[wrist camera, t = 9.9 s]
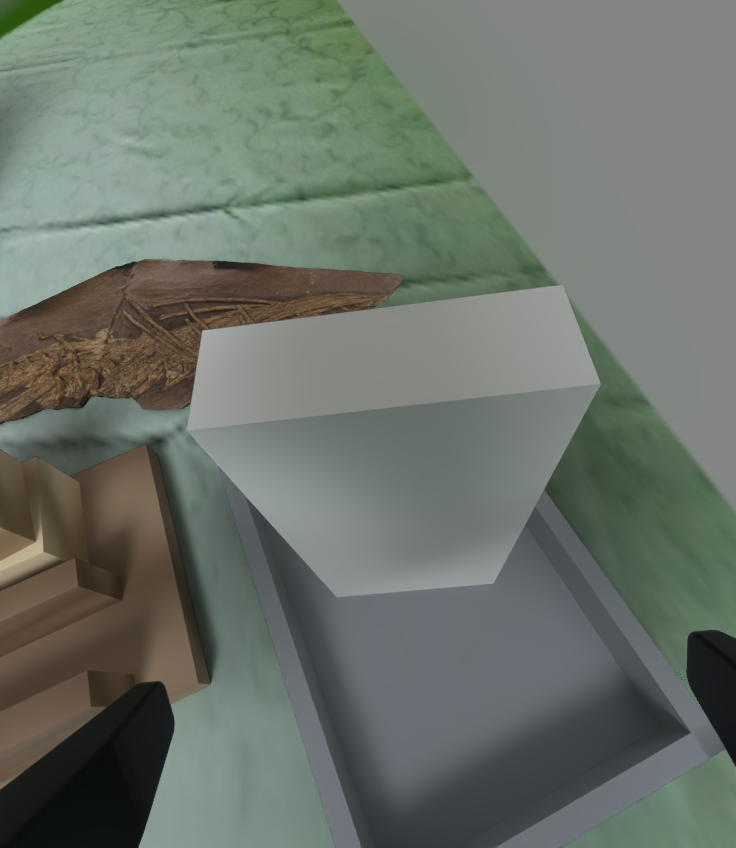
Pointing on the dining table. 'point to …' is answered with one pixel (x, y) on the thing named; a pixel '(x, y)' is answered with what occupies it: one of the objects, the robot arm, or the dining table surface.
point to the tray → (475, 696)
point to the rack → (98, 617)
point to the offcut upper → (13, 508)
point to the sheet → (397, 431)
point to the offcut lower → (48, 524)
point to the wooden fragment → (156, 328)
